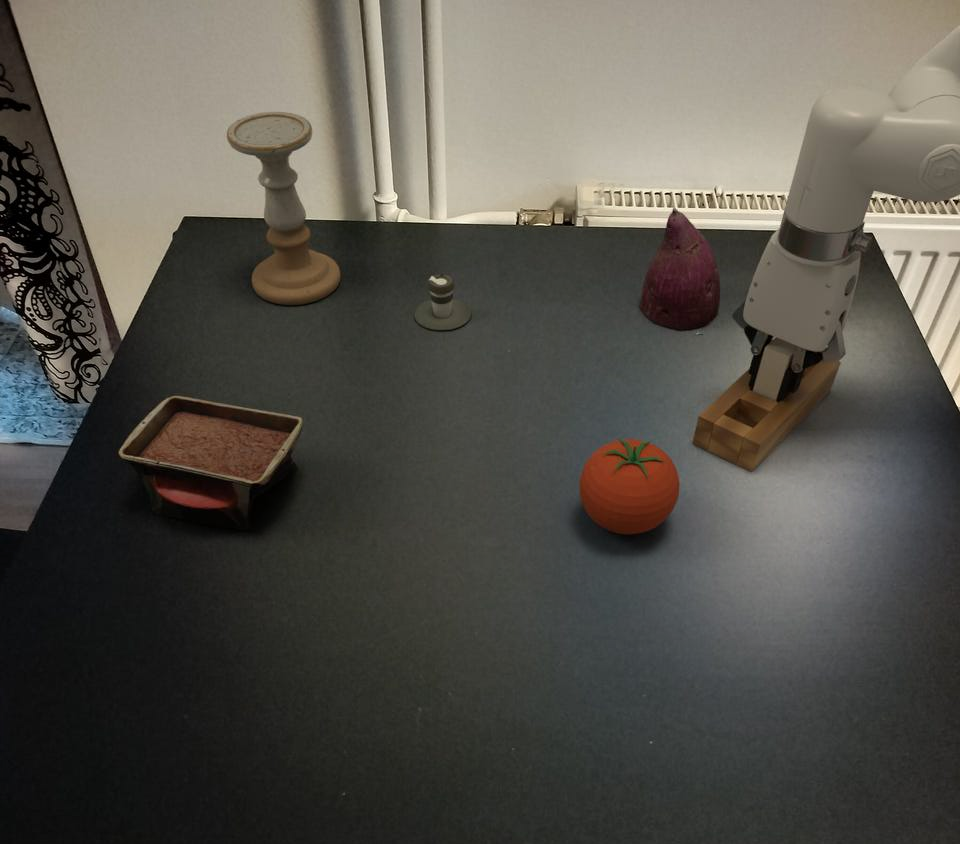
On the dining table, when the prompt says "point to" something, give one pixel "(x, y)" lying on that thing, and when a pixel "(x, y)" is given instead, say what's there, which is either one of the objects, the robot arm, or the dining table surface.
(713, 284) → the vegetable
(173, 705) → the dining table surface
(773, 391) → the peg
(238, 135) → the candle holder
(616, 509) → the tomato
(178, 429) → the baking dish
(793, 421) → the peg block
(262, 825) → the dining table surface
